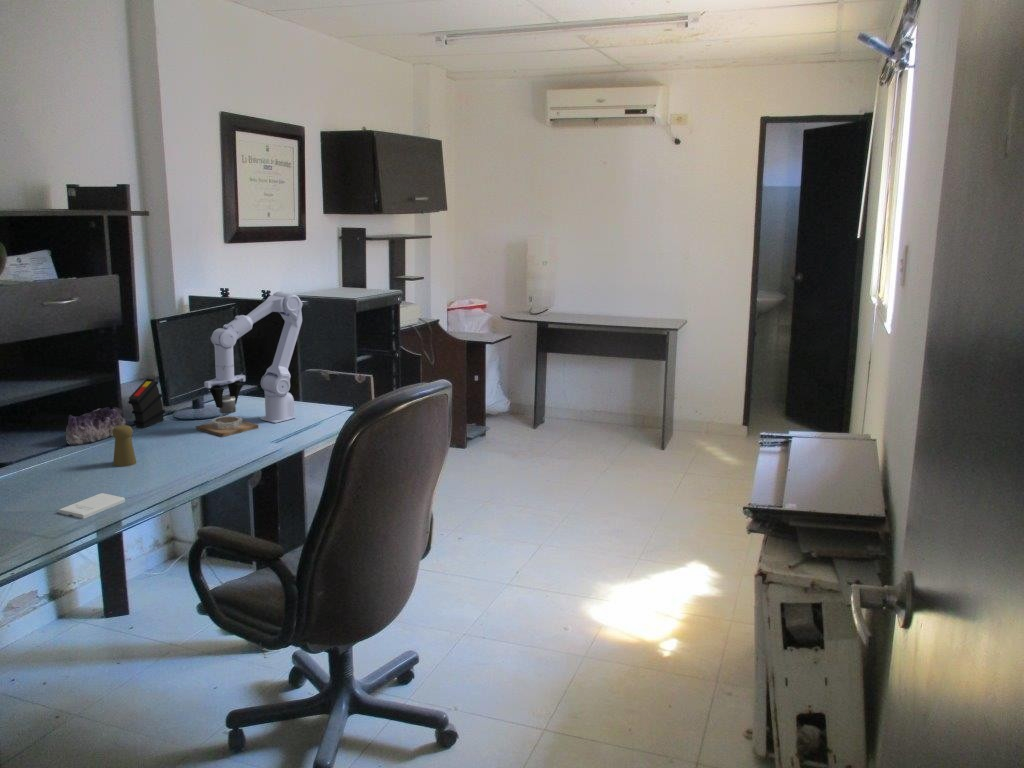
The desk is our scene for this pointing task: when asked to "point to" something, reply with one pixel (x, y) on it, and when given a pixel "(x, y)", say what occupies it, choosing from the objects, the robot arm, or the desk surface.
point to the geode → (93, 426)
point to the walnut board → (223, 433)
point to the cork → (123, 446)
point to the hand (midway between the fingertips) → (226, 405)
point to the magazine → (147, 404)
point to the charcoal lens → (228, 404)
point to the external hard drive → (92, 505)
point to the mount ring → (227, 422)
